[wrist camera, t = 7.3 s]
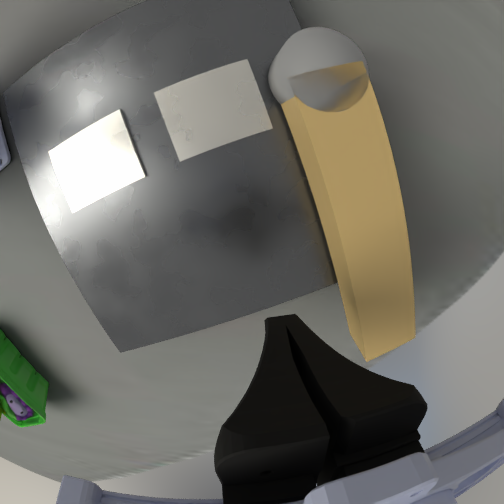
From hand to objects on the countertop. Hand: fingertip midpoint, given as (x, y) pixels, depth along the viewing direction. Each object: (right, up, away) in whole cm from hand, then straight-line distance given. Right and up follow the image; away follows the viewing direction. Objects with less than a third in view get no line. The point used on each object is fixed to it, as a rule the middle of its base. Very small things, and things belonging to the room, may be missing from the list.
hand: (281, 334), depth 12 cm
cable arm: (+4, +6, +3) cm, 8 cm away
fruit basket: (-28, -8, +10) cm, 31 cm away
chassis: (-6, +9, +5) cm, 12 cm away
